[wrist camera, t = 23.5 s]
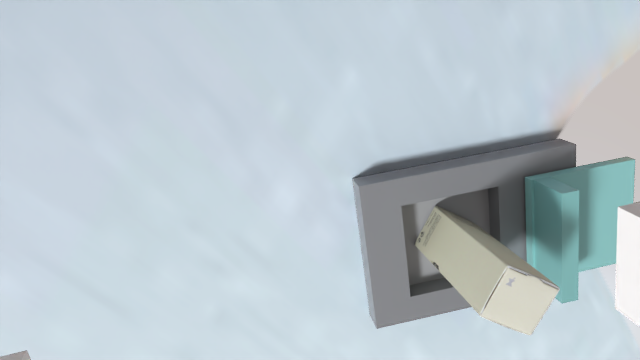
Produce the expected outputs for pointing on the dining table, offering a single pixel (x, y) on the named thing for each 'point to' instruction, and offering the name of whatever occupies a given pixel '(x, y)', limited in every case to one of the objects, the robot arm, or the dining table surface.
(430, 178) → the socket block
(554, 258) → the teal angle bracket
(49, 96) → the dining table surface
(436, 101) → the dining table surface
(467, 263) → the box
